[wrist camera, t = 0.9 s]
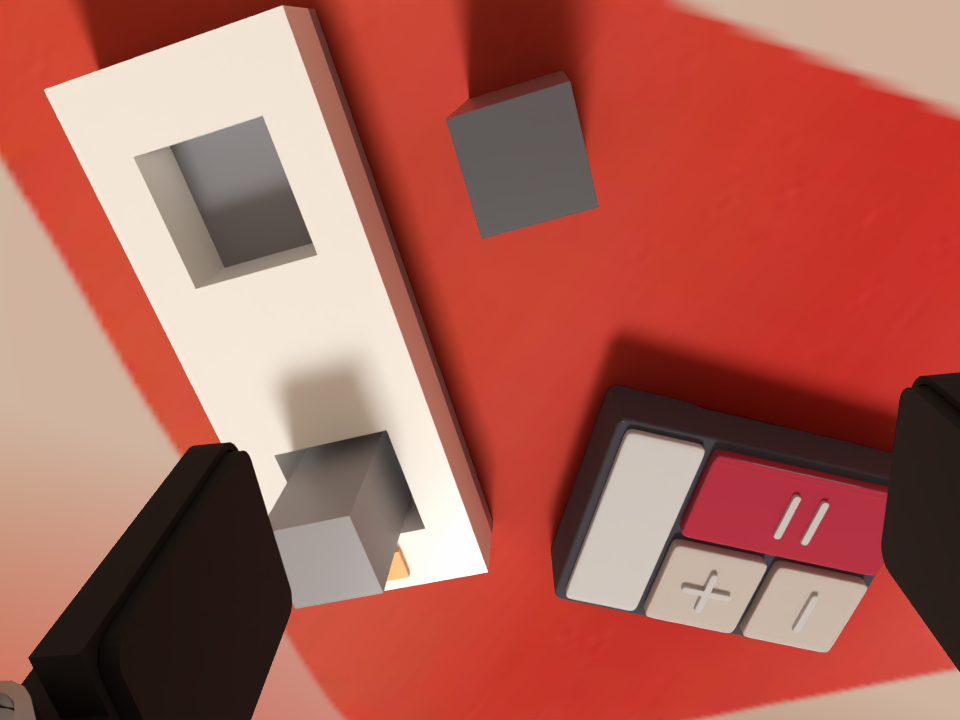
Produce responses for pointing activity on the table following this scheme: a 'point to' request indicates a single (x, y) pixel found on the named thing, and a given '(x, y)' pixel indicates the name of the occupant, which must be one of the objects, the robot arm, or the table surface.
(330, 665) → the table surface
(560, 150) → the plug
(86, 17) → the table surface
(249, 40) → the power strip
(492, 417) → the table surface
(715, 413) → the calculator
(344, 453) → the grey square peg
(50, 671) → the robot arm
